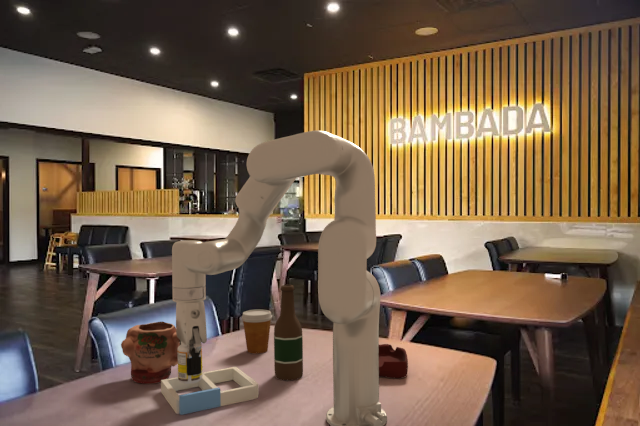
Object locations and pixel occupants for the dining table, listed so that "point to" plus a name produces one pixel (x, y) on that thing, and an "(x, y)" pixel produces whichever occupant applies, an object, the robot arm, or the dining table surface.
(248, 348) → the disposable coffee cup
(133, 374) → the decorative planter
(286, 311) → the beer bottle
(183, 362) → the supplement bottle
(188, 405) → the white divided tray
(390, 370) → the ashtray
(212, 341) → the dining table surface
